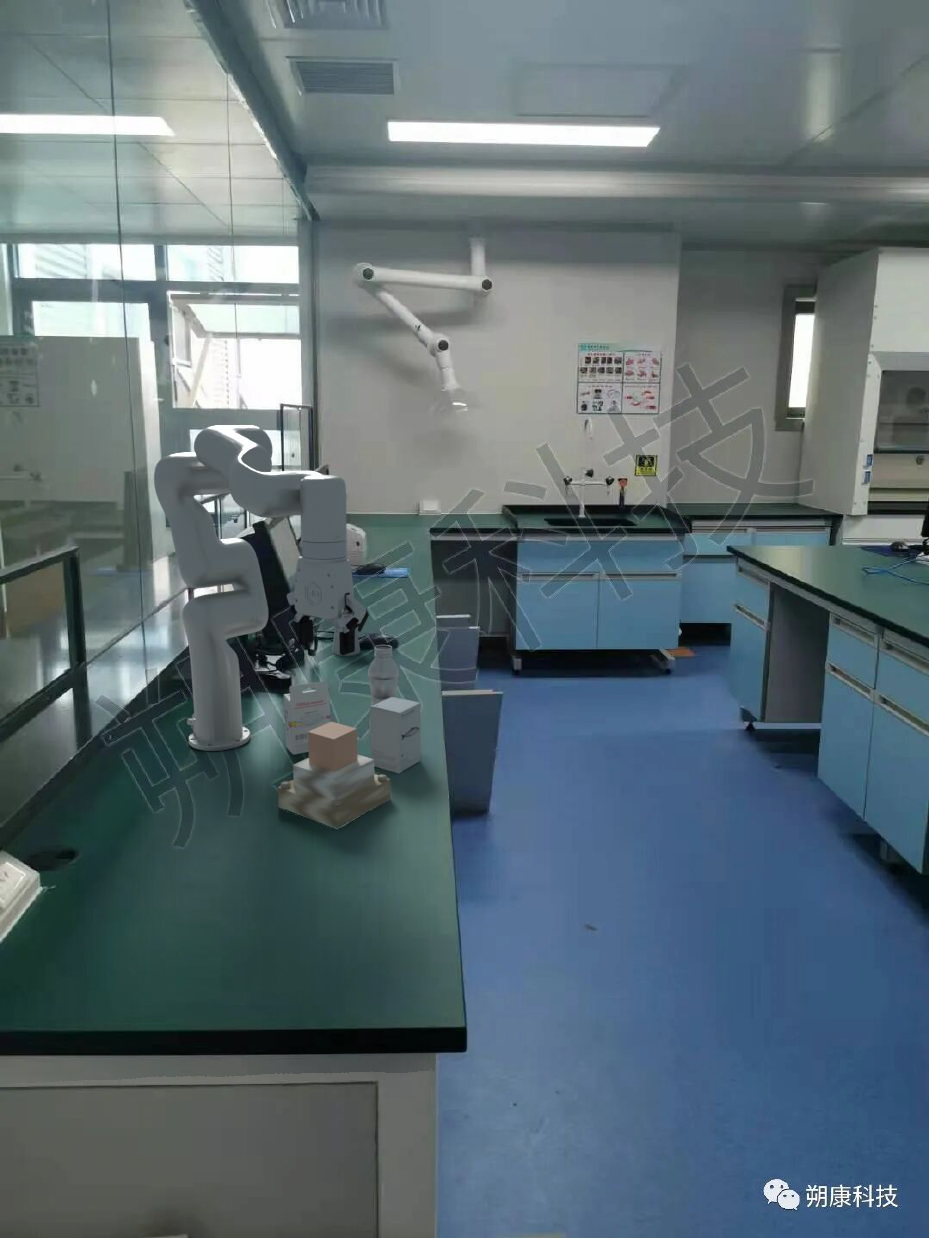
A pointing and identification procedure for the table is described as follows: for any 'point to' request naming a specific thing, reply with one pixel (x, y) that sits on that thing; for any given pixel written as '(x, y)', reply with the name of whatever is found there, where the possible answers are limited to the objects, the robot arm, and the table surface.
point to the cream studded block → (334, 791)
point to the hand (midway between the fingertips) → (326, 648)
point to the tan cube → (332, 746)
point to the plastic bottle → (383, 675)
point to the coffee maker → (357, 648)
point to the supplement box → (395, 734)
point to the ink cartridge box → (305, 714)
